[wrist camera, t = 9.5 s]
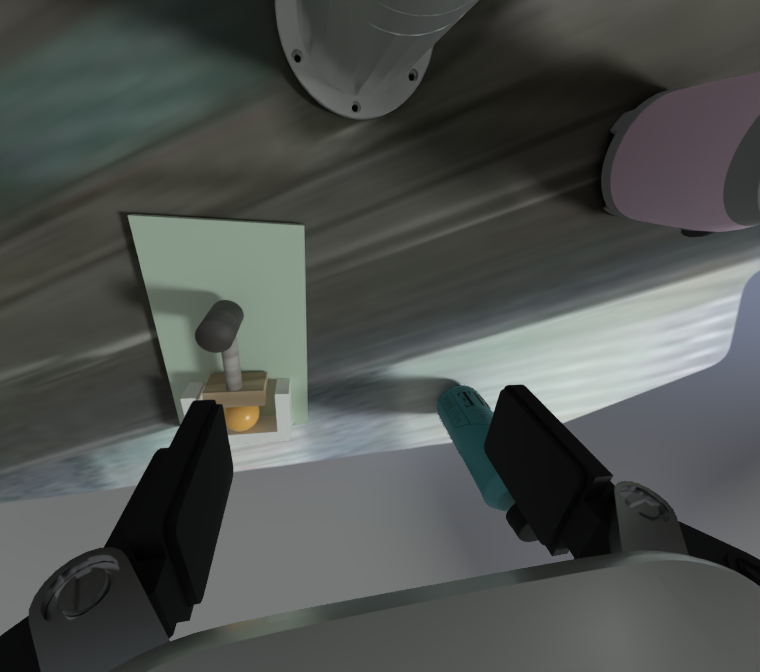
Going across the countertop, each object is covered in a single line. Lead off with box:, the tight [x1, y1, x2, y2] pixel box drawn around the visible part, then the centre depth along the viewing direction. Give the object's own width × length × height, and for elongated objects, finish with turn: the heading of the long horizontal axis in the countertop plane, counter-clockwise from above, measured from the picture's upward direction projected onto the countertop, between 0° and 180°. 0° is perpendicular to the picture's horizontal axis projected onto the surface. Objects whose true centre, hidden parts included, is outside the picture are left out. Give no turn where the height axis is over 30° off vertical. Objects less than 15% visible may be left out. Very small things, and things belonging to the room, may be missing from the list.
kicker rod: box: [195, 300, 268, 408], centre depth 32 cm, size 12×6×7 cm, turn 175°
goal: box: [180, 379, 292, 445], centre depth 38 cm, size 7×11×3 cm, turn 85°
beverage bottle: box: [437, 386, 538, 542], centre depth 38 cm, size 6×7×20 cm
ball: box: [223, 406, 260, 432], centre depth 37 cm, size 4×4×4 cm
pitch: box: [128, 214, 308, 425], centre depth 36 cm, size 25×15×1 cm, turn 175°
